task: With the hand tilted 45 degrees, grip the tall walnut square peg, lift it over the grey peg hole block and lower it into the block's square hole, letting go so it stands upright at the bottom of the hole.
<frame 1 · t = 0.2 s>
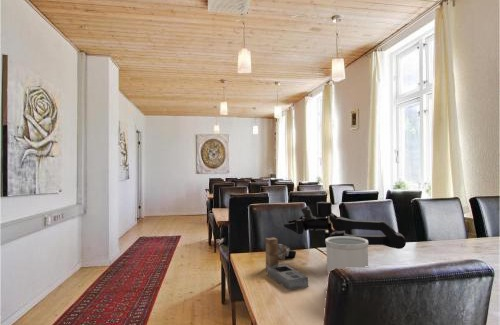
hand: (286, 223, 150), 17 cm above the table, tool horizontal, fingers open, 9 cm apart
utensil holder: (347, 289, 108), on the table
caster wheel: (284, 257, 151), on the table
walnut peg: (272, 268, 133), on the table
grey peg hole block: (286, 280, 118), on the table
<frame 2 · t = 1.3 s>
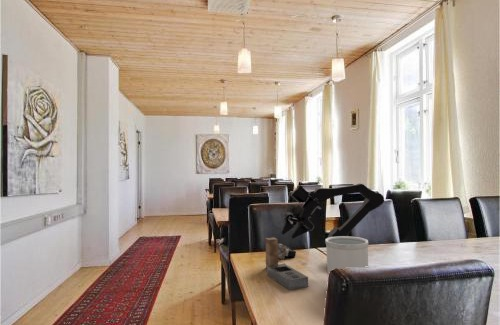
hand: (286, 235, 137), 13 cm above the table, tool tilted 45°, fingers open, 9 cm apart
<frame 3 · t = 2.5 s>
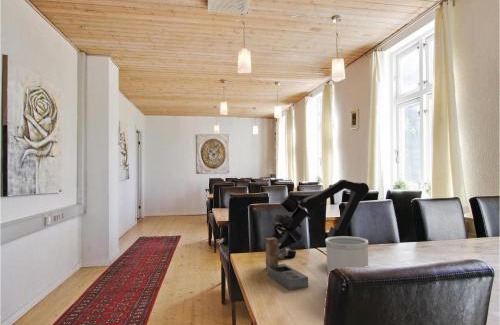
hand: (274, 246, 134), 9 cm above the table, tool tilted 45°, fingers open, 9 cm apart
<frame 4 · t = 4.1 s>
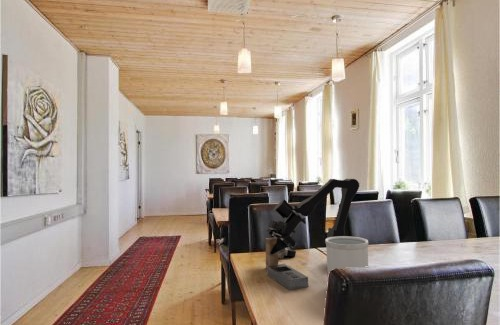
hand: (268, 252, 133), 7 cm above the table, tool tilted 45°, fingers closed on walnut peg, 4 cm apart
walnut peg: (272, 268, 133), on the table, touching gripper
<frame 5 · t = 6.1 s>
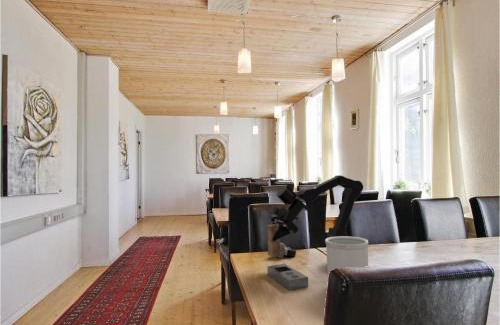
hand: (270, 239, 130), 13 cm above the table, tool tilted 45°, fingers closed on walnut peg, 4 cm apart
walnut peg: (274, 255, 131), point 6 cm above the table, touching gripper
when the fingers open (8 cm above the table, at t = 8.4 s): walnut peg drops 1 cm, resting in grey peg hole block.
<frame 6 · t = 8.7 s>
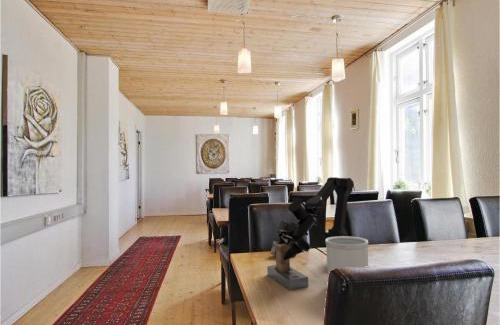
hand: (279, 256, 121), 9 cm above the table, tool tilted 45°, fingers open, 7 cm apart
walnut peg: (283, 278, 121), resting in grey peg hole block
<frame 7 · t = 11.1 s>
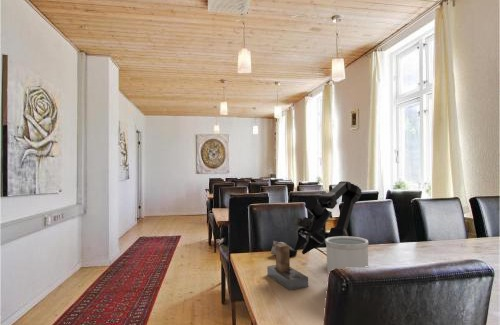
hand: (298, 251, 126), 9 cm above the table, tool tilted 40°, fingers open, 9 cm apart
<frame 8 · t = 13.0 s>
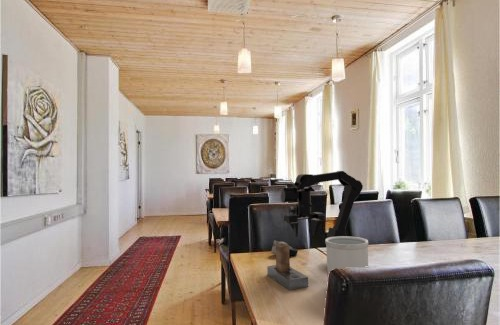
hand: (305, 236, 137), 13 cm above the table, tool pointing down, fingers open, 9 cm apart
at the end: walnut peg 0.0 cm from the target spot, resting in grey peg hole block; walnut peg tilted 0°; the gripper is holding nothing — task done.
